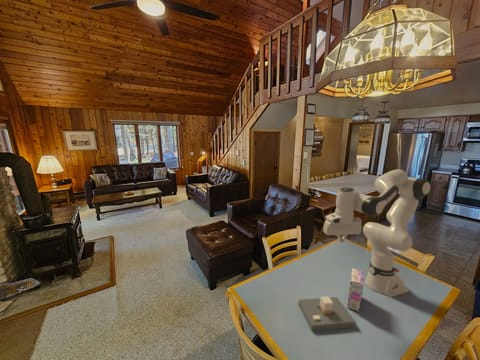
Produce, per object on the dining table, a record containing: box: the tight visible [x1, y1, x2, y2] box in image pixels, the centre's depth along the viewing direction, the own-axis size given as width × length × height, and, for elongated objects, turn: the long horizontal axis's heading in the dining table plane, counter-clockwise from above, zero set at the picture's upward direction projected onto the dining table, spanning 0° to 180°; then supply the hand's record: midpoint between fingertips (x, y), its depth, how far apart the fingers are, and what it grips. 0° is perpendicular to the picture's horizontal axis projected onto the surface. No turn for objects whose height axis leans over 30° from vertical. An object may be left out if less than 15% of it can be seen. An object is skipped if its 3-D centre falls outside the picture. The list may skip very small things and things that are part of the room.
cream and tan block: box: [319, 296, 333, 315], centre depth 103 cm, size 4×4×9 cm
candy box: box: [347, 267, 364, 313], centre depth 112 cm, size 14×6×16 cm, turn 148°
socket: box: [298, 296, 357, 332], centre depth 104 cm, size 22×16×4 cm
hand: (341, 241), depth 111 cm, fingers closed
